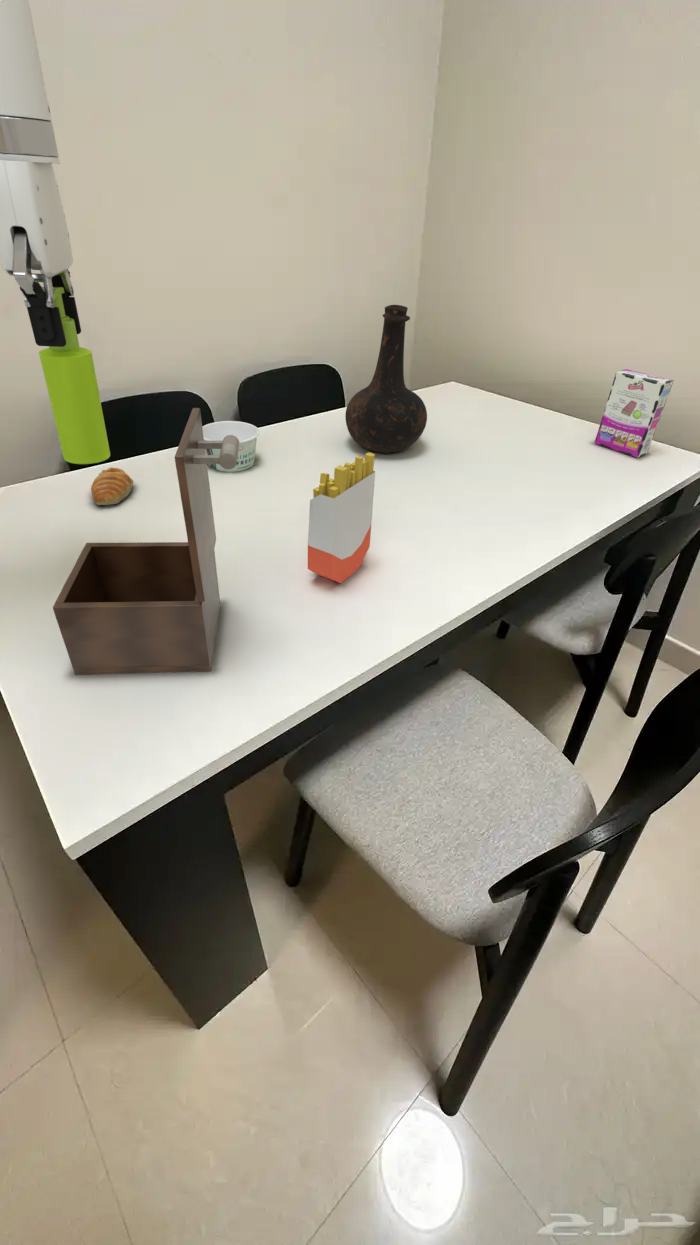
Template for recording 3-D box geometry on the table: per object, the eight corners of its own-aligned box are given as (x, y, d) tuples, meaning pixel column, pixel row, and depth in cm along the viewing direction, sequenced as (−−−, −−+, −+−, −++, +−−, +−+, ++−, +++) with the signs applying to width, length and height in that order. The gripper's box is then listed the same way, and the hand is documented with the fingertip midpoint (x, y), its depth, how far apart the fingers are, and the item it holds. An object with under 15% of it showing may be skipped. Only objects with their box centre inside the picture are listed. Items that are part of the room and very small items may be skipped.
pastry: (126, 508, 102) (121, 487, 99) (86, 508, 101) (80, 488, 98) (135, 485, 109) (131, 465, 107) (98, 485, 108) (93, 466, 106)
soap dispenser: (57, 467, 75) (14, 289, 63) (69, 449, 80) (31, 282, 69) (105, 467, 76) (71, 292, 64) (113, 449, 81) (83, 284, 70)
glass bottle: (354, 463, 122) (362, 315, 104) (336, 433, 135) (340, 297, 118) (434, 459, 125) (455, 315, 108) (408, 430, 139) (423, 298, 122)
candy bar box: (647, 453, 134) (675, 379, 124) (637, 458, 131) (665, 383, 121) (603, 439, 140) (626, 367, 130) (592, 443, 138) (615, 370, 127)
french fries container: (305, 581, 86) (305, 466, 75) (344, 551, 94) (349, 442, 82) (331, 592, 84) (334, 475, 73) (369, 560, 92) (377, 450, 81)
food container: (236, 479, 113) (233, 447, 109) (188, 465, 117) (184, 433, 113) (272, 460, 121) (271, 429, 117) (227, 446, 126) (224, 416, 121)
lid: (174, 456, 54) (231, 456, 54) (192, 407, 64) (240, 408, 65) (197, 602, 64) (245, 600, 64) (210, 538, 75) (250, 538, 75)
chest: (74, 674, 69) (52, 607, 62) (103, 605, 79) (86, 542, 73) (210, 671, 70) (201, 605, 64) (220, 603, 81) (213, 541, 75)
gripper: (7, 142, 64) (49, 323, 75) (-65, 136, 51) (-1, 356, 62) (78, 148, 65) (109, 325, 76) (26, 143, 52) (73, 359, 63)
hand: (59, 337), depth 69 cm, fingers closed on soap dispenser, 5 cm apart
